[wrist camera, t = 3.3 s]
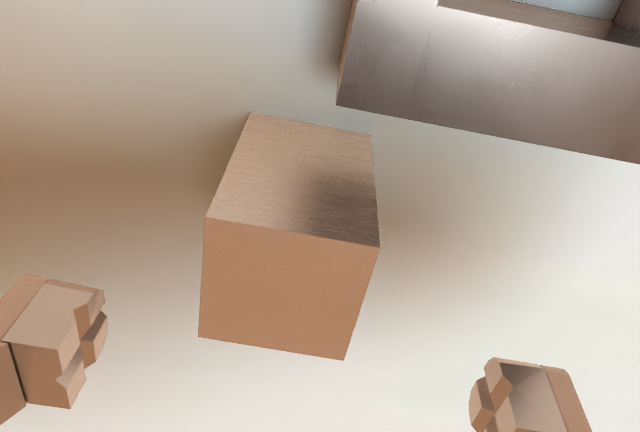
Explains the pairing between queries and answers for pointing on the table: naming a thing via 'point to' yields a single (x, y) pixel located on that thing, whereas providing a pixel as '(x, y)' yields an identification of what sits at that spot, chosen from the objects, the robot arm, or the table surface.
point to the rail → (499, 71)
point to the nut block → (290, 239)
